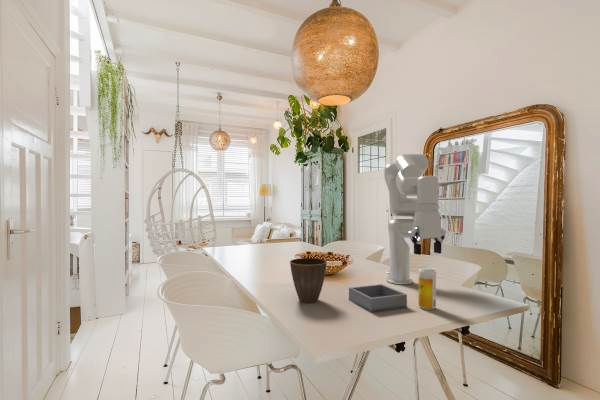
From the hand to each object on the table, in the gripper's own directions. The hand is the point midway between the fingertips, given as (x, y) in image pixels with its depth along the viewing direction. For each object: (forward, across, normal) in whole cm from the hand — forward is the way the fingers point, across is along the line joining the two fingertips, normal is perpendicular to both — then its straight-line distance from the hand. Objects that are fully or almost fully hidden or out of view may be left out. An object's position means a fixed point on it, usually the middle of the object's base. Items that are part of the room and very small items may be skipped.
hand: (427, 253), depth 121 cm
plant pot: (+21, +39, -25) cm, 50 cm away
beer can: (+21, 0, -1) cm, 21 cm away
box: (+21, +15, -12) cm, 28 cm away
